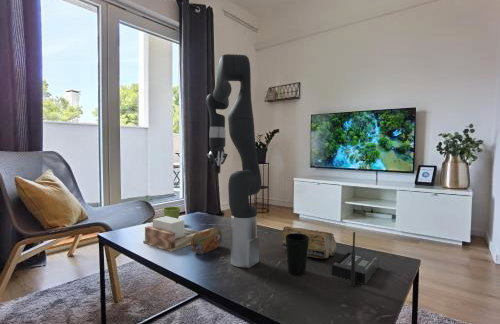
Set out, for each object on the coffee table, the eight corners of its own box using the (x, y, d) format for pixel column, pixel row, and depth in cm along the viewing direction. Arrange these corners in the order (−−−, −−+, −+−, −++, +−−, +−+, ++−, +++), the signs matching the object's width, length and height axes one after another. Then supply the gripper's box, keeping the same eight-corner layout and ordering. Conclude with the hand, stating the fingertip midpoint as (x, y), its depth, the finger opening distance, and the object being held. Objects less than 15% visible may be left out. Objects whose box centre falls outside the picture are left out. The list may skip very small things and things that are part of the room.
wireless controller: (344, 260, 105) (345, 215, 105) (384, 270, 97) (385, 221, 96) (321, 279, 90) (322, 226, 89) (366, 293, 81) (368, 235, 80)
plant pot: (162, 222, 153) (162, 206, 152) (180, 221, 155) (180, 206, 155) (162, 227, 144) (162, 210, 143) (181, 226, 146) (181, 209, 146)
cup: (303, 279, 88) (303, 242, 88) (281, 273, 92) (281, 237, 92) (311, 270, 95) (312, 235, 94) (290, 265, 99) (291, 231, 98)
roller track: (207, 238, 128) (207, 223, 127) (171, 251, 110) (171, 234, 110) (180, 231, 138) (180, 217, 137) (143, 242, 120) (143, 227, 120)
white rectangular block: (184, 236, 120) (184, 220, 119) (171, 240, 114) (171, 223, 114) (165, 231, 126) (165, 216, 126) (152, 235, 121) (152, 219, 120)
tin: (194, 257, 106) (195, 235, 105) (189, 255, 107) (189, 233, 107) (222, 246, 117) (222, 226, 117) (216, 244, 119) (216, 225, 119)
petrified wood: (277, 251, 111) (280, 226, 112) (292, 249, 122) (294, 225, 123) (325, 261, 100) (327, 233, 101) (336, 258, 111) (338, 232, 112)
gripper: (220, 137, 140) (220, 172, 140) (201, 136, 129) (201, 174, 129) (232, 137, 135) (232, 173, 136) (214, 136, 124) (213, 175, 125)
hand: (217, 173), depth 133 cm, fingers closed
